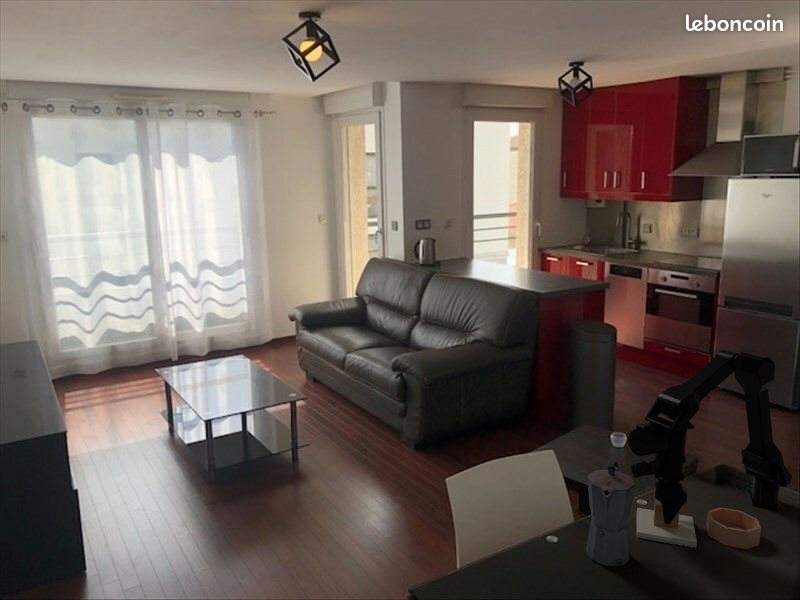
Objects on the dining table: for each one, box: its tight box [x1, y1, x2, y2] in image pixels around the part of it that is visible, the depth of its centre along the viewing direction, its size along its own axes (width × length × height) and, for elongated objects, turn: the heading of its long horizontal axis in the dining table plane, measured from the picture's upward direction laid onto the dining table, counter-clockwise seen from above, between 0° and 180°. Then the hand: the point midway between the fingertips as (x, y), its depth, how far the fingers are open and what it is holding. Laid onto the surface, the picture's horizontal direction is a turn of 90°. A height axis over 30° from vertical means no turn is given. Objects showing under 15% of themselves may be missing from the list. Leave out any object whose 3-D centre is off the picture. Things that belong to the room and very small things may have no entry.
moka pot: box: [585, 462, 637, 567], centre depth 131 cm, size 10×15×20 cm, turn 158°
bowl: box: [706, 507, 762, 550], centre depth 140 cm, size 10×10×4 cm
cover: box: [636, 498, 698, 547], centre depth 142 cm, size 12×12×6 cm
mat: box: [636, 534, 697, 549], centre depth 143 cm, size 12×12×1 cm
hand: (666, 514), depth 142 cm, fingers open, 9 cm apart
